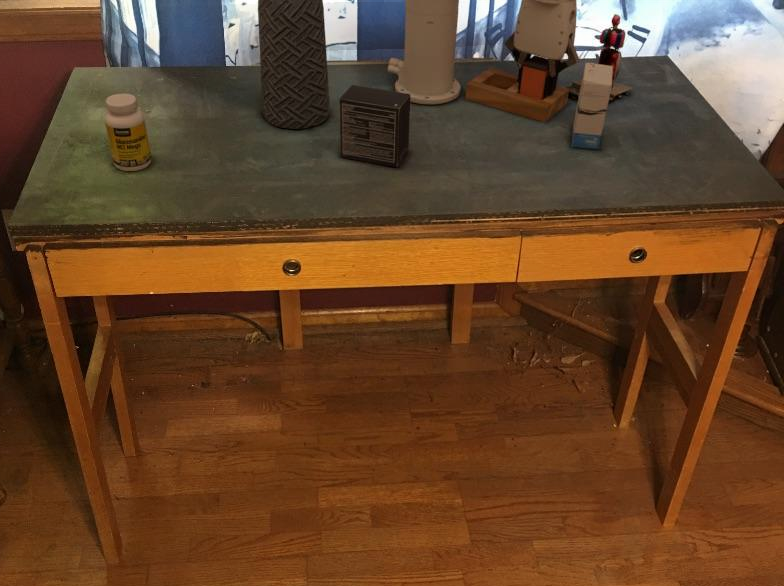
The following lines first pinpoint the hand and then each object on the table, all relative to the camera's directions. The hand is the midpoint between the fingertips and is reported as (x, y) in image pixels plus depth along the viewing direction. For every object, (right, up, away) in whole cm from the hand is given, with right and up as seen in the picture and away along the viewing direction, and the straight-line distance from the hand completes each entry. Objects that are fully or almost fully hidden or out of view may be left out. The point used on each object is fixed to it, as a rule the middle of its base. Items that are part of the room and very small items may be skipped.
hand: (535, 90), depth 159 cm
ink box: (+8, -11, -7) cm, 15 cm away
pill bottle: (-70, -18, -16) cm, 74 cm away
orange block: (0, 0, +1) cm, 1 cm away
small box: (-30, -16, -12) cm, 36 cm away
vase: (-44, -6, -2) cm, 45 cm away
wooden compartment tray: (-3, -1, +4) cm, 5 cm away
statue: (+13, +1, +7) cm, 14 cm away
